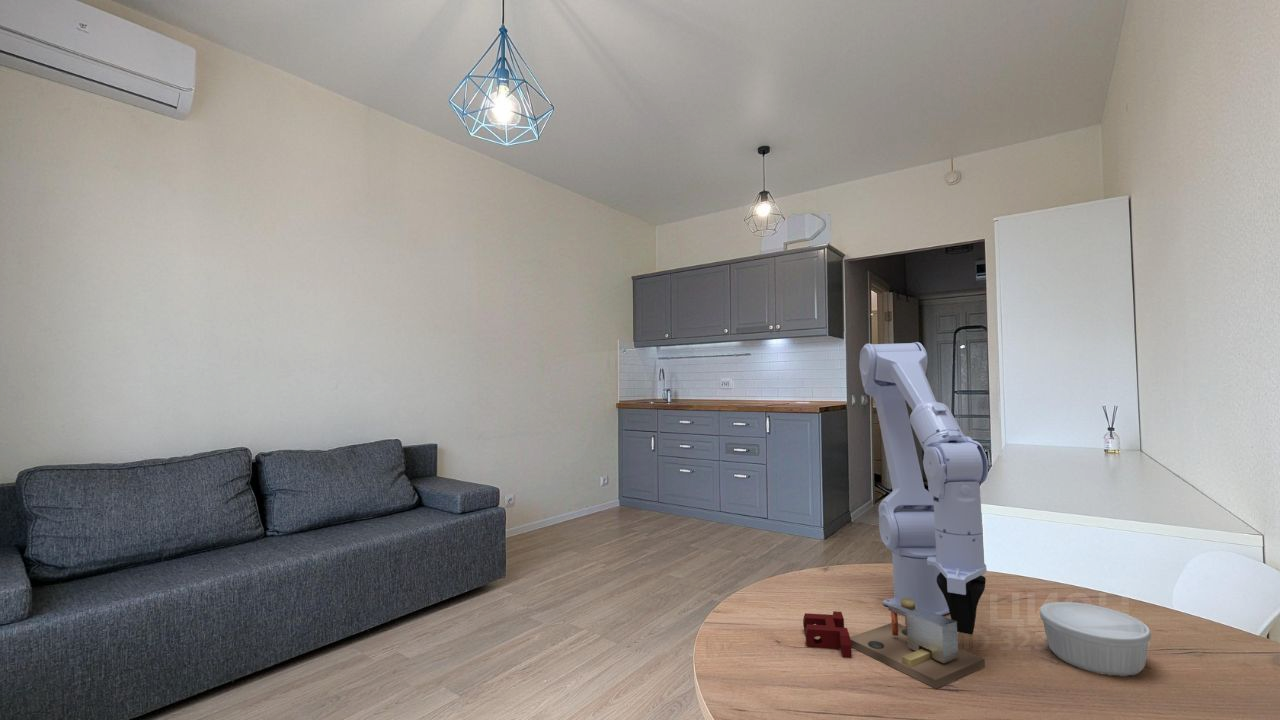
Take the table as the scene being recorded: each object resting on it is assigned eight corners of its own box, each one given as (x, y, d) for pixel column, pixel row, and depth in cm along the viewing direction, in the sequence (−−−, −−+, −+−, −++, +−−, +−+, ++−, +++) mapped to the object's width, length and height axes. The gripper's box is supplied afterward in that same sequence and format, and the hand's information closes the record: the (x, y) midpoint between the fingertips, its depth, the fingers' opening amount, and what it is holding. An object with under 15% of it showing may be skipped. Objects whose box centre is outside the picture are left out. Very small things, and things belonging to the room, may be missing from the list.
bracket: (850, 639, 73) (840, 609, 83) (806, 636, 74) (801, 607, 84) (851, 660, 73) (841, 628, 83) (807, 657, 74) (802, 626, 84)
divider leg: (958, 657, 70) (956, 621, 70) (944, 663, 68) (942, 626, 68) (899, 632, 77) (897, 599, 77) (885, 637, 76) (883, 604, 76)
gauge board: (985, 666, 70) (982, 622, 70) (936, 688, 65) (933, 641, 65) (895, 628, 81) (893, 591, 81) (847, 645, 76) (845, 605, 77)
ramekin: (1134, 692, 63) (1131, 645, 64) (1026, 654, 73) (1023, 614, 73) (1167, 664, 69) (1163, 622, 70) (1062, 632, 79) (1060, 595, 79)
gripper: (931, 516, 83) (936, 607, 83) (918, 538, 71) (924, 645, 71) (986, 521, 80) (992, 616, 79) (981, 546, 67) (988, 659, 67)
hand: (964, 631), depth 74 cm, fingers closed
